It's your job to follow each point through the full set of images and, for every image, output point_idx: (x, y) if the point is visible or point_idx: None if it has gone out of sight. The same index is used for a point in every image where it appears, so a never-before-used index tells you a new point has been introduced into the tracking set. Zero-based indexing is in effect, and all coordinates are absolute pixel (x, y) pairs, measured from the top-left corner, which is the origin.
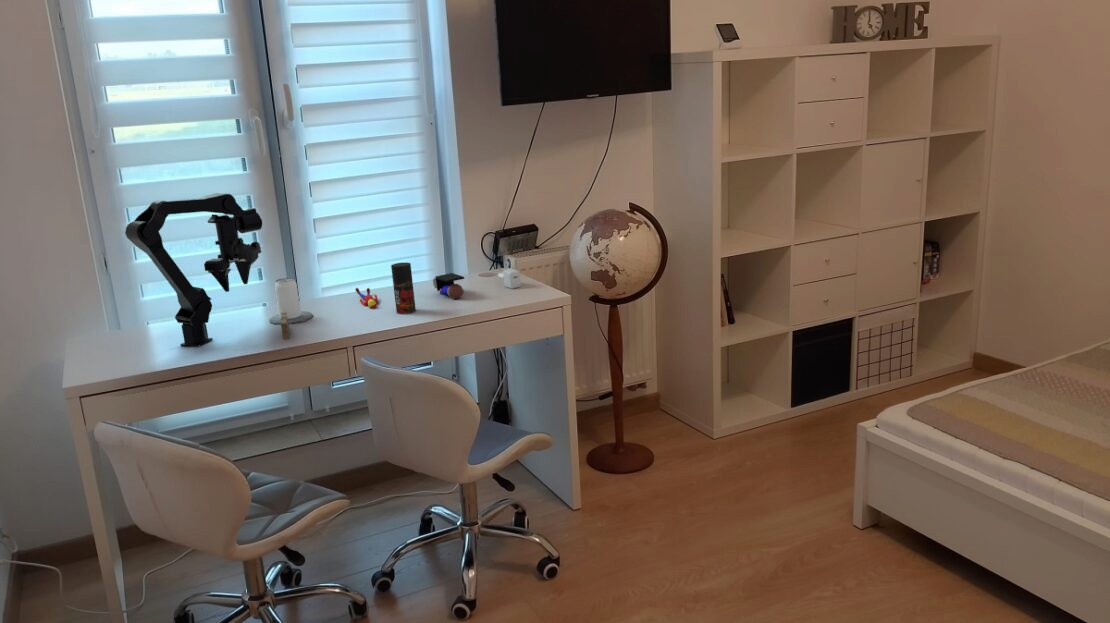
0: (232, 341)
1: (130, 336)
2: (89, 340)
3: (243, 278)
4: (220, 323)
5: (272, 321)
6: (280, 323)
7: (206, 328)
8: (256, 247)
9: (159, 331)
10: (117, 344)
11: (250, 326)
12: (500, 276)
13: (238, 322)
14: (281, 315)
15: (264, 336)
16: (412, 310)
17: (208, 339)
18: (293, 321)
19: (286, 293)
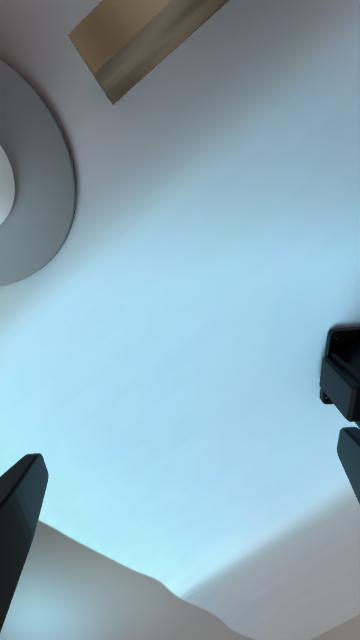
0: (353, 229)
1: (273, 577)
2: (304, 624)
3: (20, 532)
4: (116, 447)
5: (60, 229)
6: (69, 163)
7: (346, 375)
8: None
9: (225, 548)
10: (345, 559)
11: (130, 307)
12: None
13: (89, 395)
14: (155, 10)
15: (280, 103)
16: None
17: (348, 337)
18: (25, 84)
19: None
